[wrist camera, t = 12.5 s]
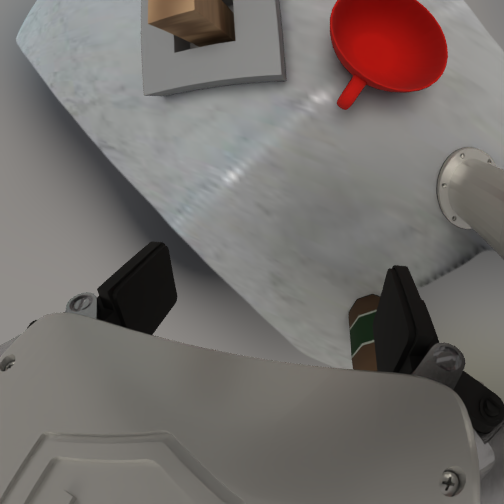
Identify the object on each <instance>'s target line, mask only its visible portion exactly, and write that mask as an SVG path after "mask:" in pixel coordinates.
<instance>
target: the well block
mask: <svg viewBox="0 0 504 504" xmlns="http://www.w3.org/2000/svg"><path fill="white" fill-rule="evenodd" d="M222 1H223V2H224V3H225V4H226V5H227V6H228V7H229V8H230V10H231V11H232V12H233V13H234V24H235V39H236V41H232V42H225V43H219V44H213V45H208V46H203V47H198V46H196V45H194V44H192V43H190V42H188V41H186V40H184V39H182V38H180V37H178V36H175V35H173V34H171V33H169V32H166V31H164V30H162V29H159V28H157V27H154V26H152V25H149V24H148V0H141V54H142V76H143V91H144V96H167V95H172V94H177V93H182V92H187V91H193V90H198V89H205V88H211V87H218V86H226V85H234V84H244V83H255V82H270V81H286V70H285V57H284V45H283V34H282V23H281V13H280V4H279V0H222Z"/></svg>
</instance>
